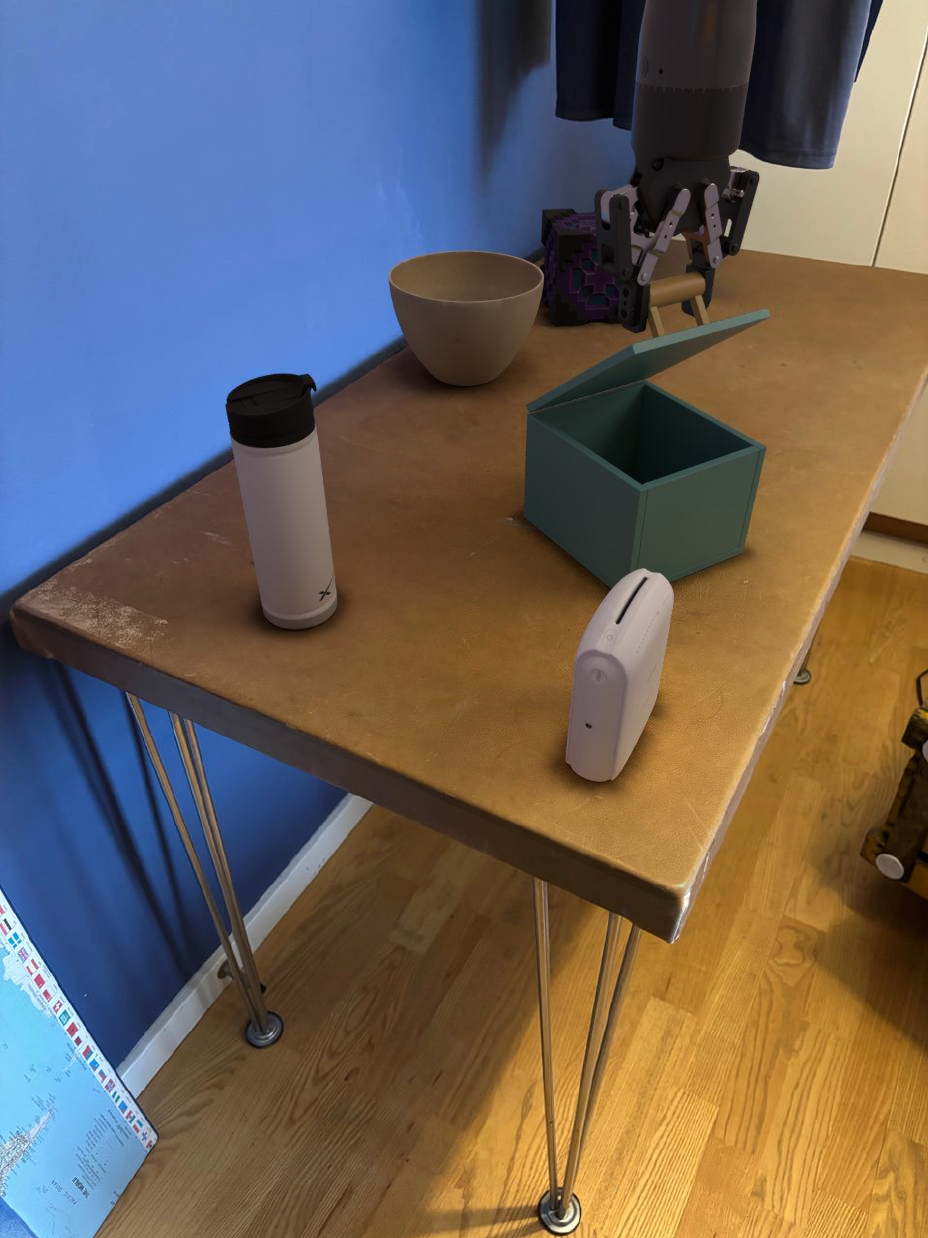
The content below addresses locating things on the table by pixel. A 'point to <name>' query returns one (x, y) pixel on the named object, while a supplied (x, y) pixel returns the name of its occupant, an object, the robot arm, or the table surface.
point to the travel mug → (283, 497)
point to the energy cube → (576, 270)
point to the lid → (654, 343)
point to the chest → (640, 482)
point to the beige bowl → (465, 311)
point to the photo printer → (618, 674)
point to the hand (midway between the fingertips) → (663, 320)
